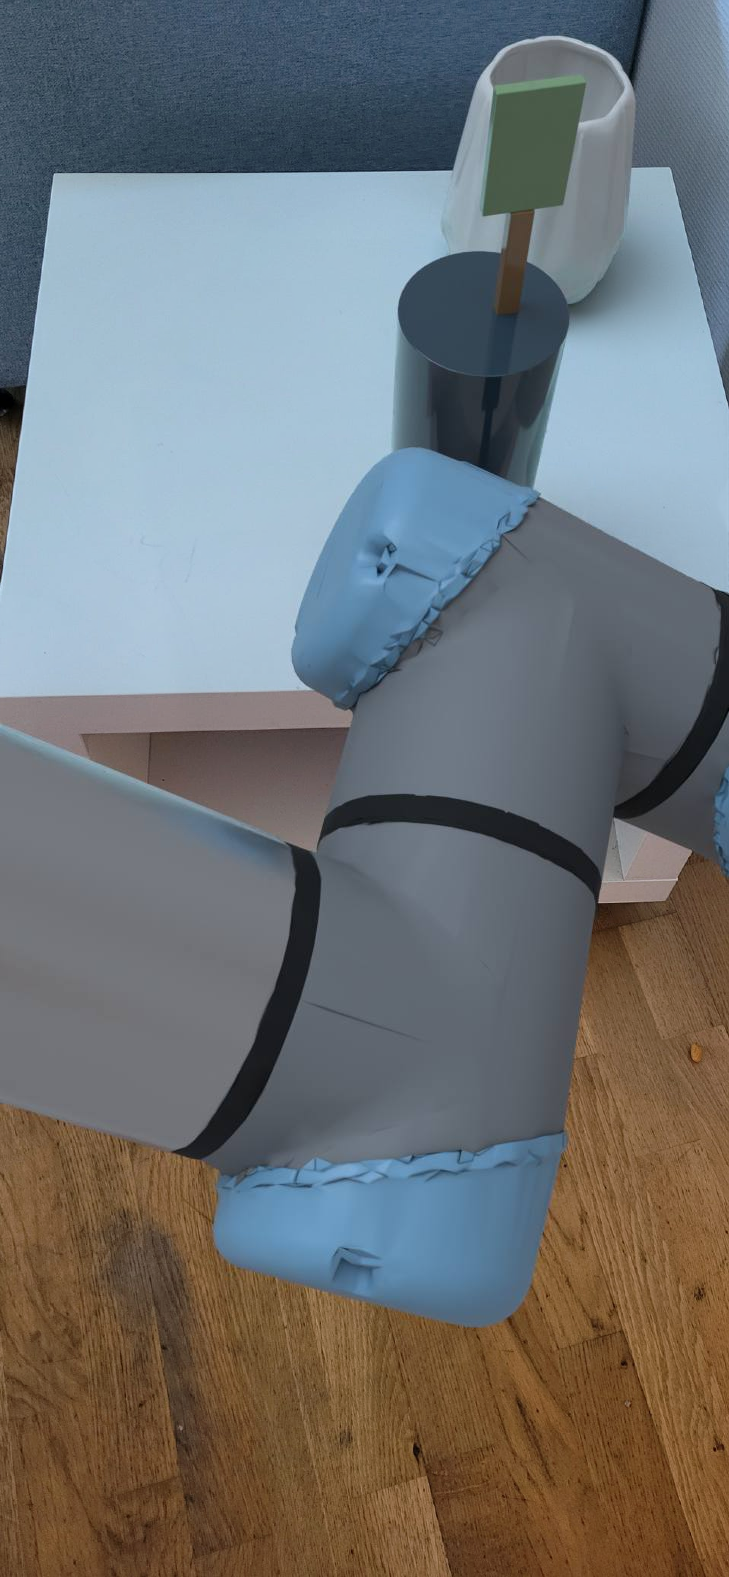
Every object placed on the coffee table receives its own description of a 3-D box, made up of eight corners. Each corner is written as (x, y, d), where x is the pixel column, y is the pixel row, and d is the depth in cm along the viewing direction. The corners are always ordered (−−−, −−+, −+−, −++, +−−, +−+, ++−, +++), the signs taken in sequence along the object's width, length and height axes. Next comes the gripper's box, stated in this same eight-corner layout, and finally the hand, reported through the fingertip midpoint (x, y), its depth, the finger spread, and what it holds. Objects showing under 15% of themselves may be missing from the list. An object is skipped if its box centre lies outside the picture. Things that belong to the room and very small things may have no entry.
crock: (402, 628, 77) (435, 171, 47) (373, 523, 81) (387, 35, 50) (530, 605, 78) (646, 143, 47) (496, 502, 82) (583, 10, 51)
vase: (641, 242, 93) (691, 55, 80) (570, 354, 88) (611, 176, 74) (486, 184, 96) (509, -6, 82) (408, 290, 91) (418, 106, 77)
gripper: (815, 561, 44) (604, 502, 66) (490, 619, 43) (385, 540, 65) (816, 742, 47) (612, 628, 69) (510, 802, 46) (402, 667, 68)
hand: (502, 585), depth 67 cm, fingers closed
